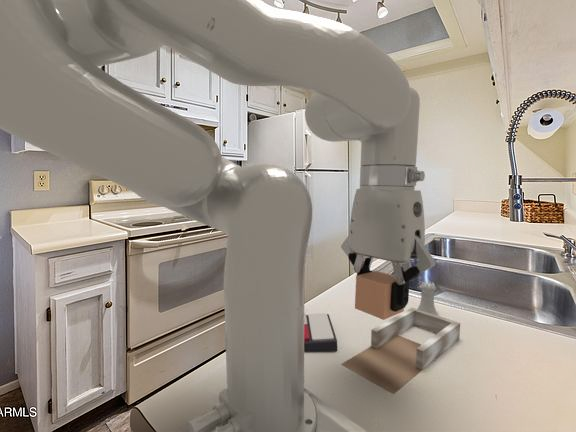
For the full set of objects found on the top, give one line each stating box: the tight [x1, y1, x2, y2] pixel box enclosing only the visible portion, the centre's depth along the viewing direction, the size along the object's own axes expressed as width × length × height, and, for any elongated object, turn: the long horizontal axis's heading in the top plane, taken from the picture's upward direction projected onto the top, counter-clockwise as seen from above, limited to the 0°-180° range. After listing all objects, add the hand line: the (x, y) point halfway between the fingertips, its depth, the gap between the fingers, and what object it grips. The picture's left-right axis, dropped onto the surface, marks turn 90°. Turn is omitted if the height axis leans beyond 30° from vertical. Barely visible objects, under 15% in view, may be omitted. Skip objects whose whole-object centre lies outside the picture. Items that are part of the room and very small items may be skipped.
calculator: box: [304, 312, 338, 353], centre depth 58 cm, size 11×4×15 cm
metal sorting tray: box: [340, 307, 461, 395], centre depth 52 cm, size 22×9×4 cm, turn 131°
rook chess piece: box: [416, 280, 438, 316], centre depth 67 cm, size 4×4×8 cm
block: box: [354, 270, 405, 321], centre depth 46 cm, size 5×5×5 cm
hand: (380, 301), depth 47 cm, fingers closed on block, 5 cm apart
